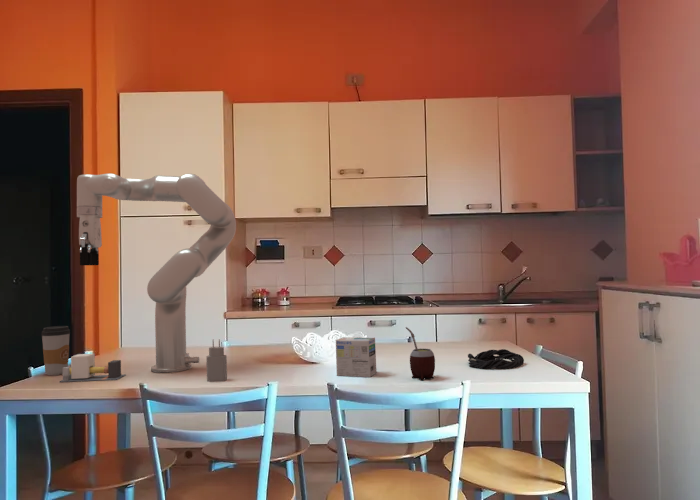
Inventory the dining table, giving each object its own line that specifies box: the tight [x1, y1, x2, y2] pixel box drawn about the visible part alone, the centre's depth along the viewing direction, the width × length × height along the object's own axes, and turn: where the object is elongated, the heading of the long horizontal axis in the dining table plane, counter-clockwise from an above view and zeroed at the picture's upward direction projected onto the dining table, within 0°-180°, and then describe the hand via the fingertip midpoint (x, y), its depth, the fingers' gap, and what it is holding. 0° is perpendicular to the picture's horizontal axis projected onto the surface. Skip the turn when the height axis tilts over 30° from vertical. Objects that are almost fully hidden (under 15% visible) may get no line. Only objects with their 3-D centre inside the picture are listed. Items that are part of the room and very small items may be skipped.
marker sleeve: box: [70, 353, 96, 379], centre depth 165 cm, size 5×5×7 cm
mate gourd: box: [405, 326, 436, 382], centre depth 152 cm, size 8×8×15 cm
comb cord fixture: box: [59, 359, 127, 383], centre depth 165 cm, size 17×7×5 cm, turn 92°
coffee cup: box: [41, 325, 71, 376], centre depth 175 cm, size 8×8×15 cm
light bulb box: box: [335, 336, 377, 378], centre depth 160 cm, size 11×7×11 cm, turn 71°
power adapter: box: [206, 339, 228, 383], centre depth 158 cm, size 3×5×12 cm, turn 86°
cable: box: [467, 348, 525, 370], centre depth 168 cm, size 17×14×4 cm
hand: (89, 265), depth 175 cm, fingers open, 9 cm apart
